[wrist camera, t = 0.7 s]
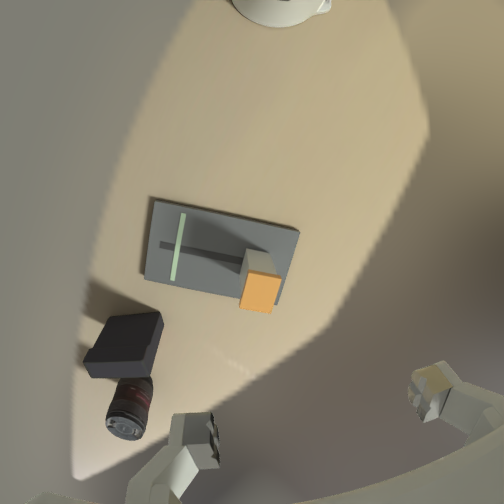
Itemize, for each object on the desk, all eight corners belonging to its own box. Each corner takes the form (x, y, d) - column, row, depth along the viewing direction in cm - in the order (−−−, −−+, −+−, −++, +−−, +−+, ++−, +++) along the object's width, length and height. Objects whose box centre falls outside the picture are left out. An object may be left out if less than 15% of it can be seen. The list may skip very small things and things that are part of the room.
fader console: (156, 199, 49) (154, 201, 48) (298, 230, 53) (300, 232, 52) (145, 276, 54) (143, 279, 53) (276, 302, 57) (277, 305, 56)
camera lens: (158, 372, 62) (147, 425, 48) (152, 395, 65) (142, 445, 51) (123, 360, 60) (104, 411, 47) (119, 384, 63) (103, 433, 49)
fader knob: (244, 246, 51) (248, 272, 42) (272, 252, 52) (281, 279, 43) (237, 276, 53) (239, 308, 44) (263, 281, 54) (270, 313, 45)
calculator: (115, 331, 58) (92, 381, 44) (108, 313, 56) (81, 362, 42) (165, 327, 58) (151, 380, 44) (159, 308, 56) (142, 360, 42)
